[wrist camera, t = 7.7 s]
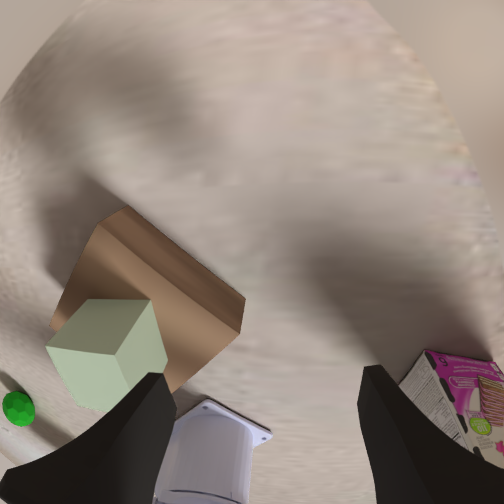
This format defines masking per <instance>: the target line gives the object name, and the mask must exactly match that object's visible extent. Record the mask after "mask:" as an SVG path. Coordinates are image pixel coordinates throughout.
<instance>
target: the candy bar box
mask: <svg viewBox="0 0 504 504" xmlns="http://www.w3.org/2000/svg"><path fill="white" fill-rule="evenodd" d="M398 386H399V387H400V388H401V390H402V391H403V392H404V393H405V394H406V395H407V396H408V398H409V399H410V400H411V401H412V402H413V403H414V404H415V405H416V406H417V407H418V408H419V409H420V410H421V411H422V412H423V414H424V415H426V416H427V417H428V418H429V419H430V420H431V421H432V422H433V423H434V424H435V425H436V426H437V427H438V428H439V429H441V430H442V431H443V432H444V433H445V434H447V435H448V436H449V437H450V438H452V439H453V440H454V441H456V442H457V443H458V444H460V445H461V446H463V447H464V448H466V449H467V450H469V451H471V452H472V453H474V454H475V455H477V456H479V457H480V458H482V459H484V460H486V461H488V462H490V463H492V464H494V465H496V466H498V467H500V468H503V469H504V374H503V373H502V371H501V370H500V369H499V367H498V366H497V364H496V363H495V362H492V361H485V360H478V359H471V358H466V357H460V356H454V355H449V354H443V353H438V352H433V351H428V350H424V351H423V352H422V353H421V354H420V356H419V357H418V358H417V360H416V362H415V363H414V365H413V366H412V368H411V369H410V371H409V372H408V373H407V375H406V376H405V377H404V379H403V380H402V381H401V383H400V384H399V385H398Z"/></svg>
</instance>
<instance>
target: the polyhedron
mask: <svg viewBox="0 0 504 504" xmlns="http://www.w3.org/2000/svg"><path fill="white" fill-rule="evenodd" d="M2 405H3V412H4V414H5V416H6V417H7V419H8V420H9V421H10V422H11V423H13V424H15V425H17V426H21V427H22V426H26V425H29V424H31V423H32V421H33V420H34V418H35V406H34V405H33V403H32V401H31V400H30V398H29V397H28V396H27V395H25V394H23V393H21V392H18V391H14V392H11V393H8V394H6V396H5V397H4V399H3V403H2Z"/></svg>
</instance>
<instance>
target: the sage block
mask: <svg viewBox="0 0 504 504" xmlns="http://www.w3.org/2000/svg"><path fill="white" fill-rule="evenodd" d="M45 347H46V349H47V351H48V353H49V355H50V357H51V359H52V361H53V363H54V365H55V367H56V369H57V371H58V373H59V375H60V376H61V378H62V380H63V382H64V384H65V385H66V387H67V389H68V391H69V392H70V394H71V396H72V397H73V399H74V401H75V402H76V404H77V406H80V407H85V408H89V409H93V410H98V411H103V412H109V411H110V410H111V409H112V408H113V407H114V406H115V405H116V404H117V403H118V402H119V401H120V400H121V399H122V398H123V397H124V396H125V395H126V394H127V393H128V392H129V391H130V390H131V389H132V388H133V387H134V386H135V385H136V384H137V383H138V382H139V381H140V380H141V379H142V378H143V377H144V376H145V375H146V374H147V373H148V372H155V373H163V371H164V369H165V366H166V364H167V361H168V358H167V355H166V352H165V349H164V345H163V342H162V338H161V335H160V332H159V328H158V324H157V321H156V317H155V313H154V310H153V306H152V302H151V300H119V299H87V301H86V302H85V303H84V304H83V305H82V306H81V307H80V308H79V309H78V310H77V311H76V312H75V313H74V314H73V315H72V316H71V317H70V319H69V320H68V321H67V322H66V323H65V324H64V325H63V326H62V327H61V328H60V329H59V331H58V332H57V333H56V334H55V335H54V336H53V337H52V338H51V339H50V341H49V342H48V343H47V344H46V345H45Z"/></svg>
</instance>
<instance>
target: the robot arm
mask: <svg viewBox="0 0 504 504" xmlns="http://www.w3.org/2000/svg"><path fill="white" fill-rule="evenodd" d="M357 406H358V413H359V420H360V427H361V431H362V435H363V438H364V442H365V446H366V450H367V454H368V457H369V461H370V465H371V469H372V473H373V478H374V483H375V491H376V500H377V504H504V469H503V468H500V467H498V466H496V465H494V464H492V463H490V462H488V461H486V460H484V459H482V458H480V457H479V456H477V455H475V454H474V453H472V452H471V451H469V450H467V449H466V448H464V447H463V446H461V445H460V444H458V443H457V442H456V441H454V440H453V439H452V438H450V437H449V436H448V435H447V434H445V433H444V432H443V431H442V430H441V429H439V428H438V427H437V426H436V425H435V424H434V423H433V422H432V421H431V420H430V419H429V418H428V417H427V416H426V415H424V414H423V412H422V411H421V410H420V409H419V408H418V407H417V406H416V405H415V404H414V403H413V402H412V401H411V400H410V399H409V398H408V396H407V395H406V394H405V393H404V392H403V391H402V390H401V388H400V387H399V386H398V385H397V384H396V382H395V381H394V380H393V379H392V378H391V376H390V375H389V374H388V373H387V371H386V370H385V369H384V368H383V366H381V365H373V366H365V367H364V370H363V376H362V381H361V386H360V391H359V396H358V401H357ZM176 410H177V407H176V405H175V402H174V400H173V397H172V395H171V392H170V390H169V387H168V384H167V382H166V379H165V376H164V374H163V373H155V372H148V373H147V374H146V375H145V376H144V377H143V378H142V379H141V380H140V381H139V382H138V383H137V384H136V385H135V386H134V387H133V388H132V389H131V390H130V391H129V392H128V393H127V394H126V395H125V396H124V397H123V398H122V399H121V400H120V401H119V402H118V403H117V404H116V405H115V406H114V407H113V408H112V409H111V410H110V411H109V412H108V413H107V414H106V415H104V416H103V417H102V418H101V419H100V420H99V421H98V422H96V423H95V424H94V425H93V426H92V427H90V428H89V429H88V430H87V431H85V432H84V433H82V434H81V435H80V436H78V437H77V438H75V439H74V440H72V441H71V442H69V443H68V444H66V445H64V446H62V447H61V448H59V449H57V450H56V451H54V452H52V453H50V454H48V455H46V456H44V457H42V458H39V459H37V460H35V461H32V462H30V463H27V464H24V465H21V466H18V467H15V468H11V469H8V470H7V471H6V472H5V474H4V476H3V478H2V480H1V481H0V498H1V499H2V500H3V501H5V502H6V503H7V504H248V500H249V489H250V477H251V466H252V454H253V448H254V447H256V446H258V445H260V444H262V443H264V442H265V441H267V440H269V439H271V438H272V437H273V433H272V432H270V431H268V430H266V429H264V428H262V427H260V426H258V425H256V424H254V423H252V422H250V421H248V420H246V419H244V418H243V417H241V416H239V415H237V414H235V413H233V412H231V411H230V410H228V409H226V408H224V407H223V406H221V405H219V404H217V403H216V402H214V401H212V400H209V399H206V400H204V401H203V402H201V403H200V404H199V405H197V406H196V407H194V408H193V409H192V410H190V411H189V412H187V413H186V414H185V415H183V416H182V417H180V418H179V419H178V420H176V421H175V416H176ZM154 492H155V495H156V497H157V498H156V497H153V496H154Z"/></svg>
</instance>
